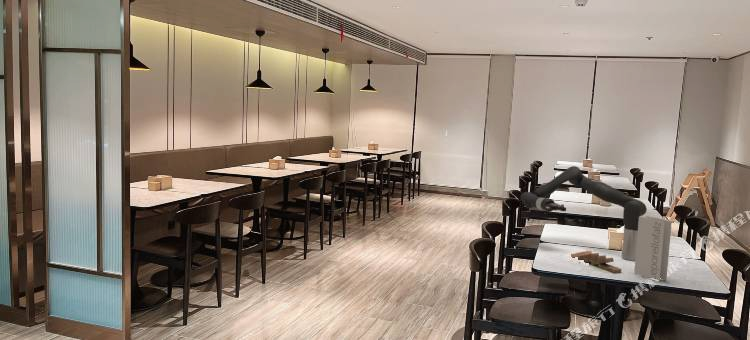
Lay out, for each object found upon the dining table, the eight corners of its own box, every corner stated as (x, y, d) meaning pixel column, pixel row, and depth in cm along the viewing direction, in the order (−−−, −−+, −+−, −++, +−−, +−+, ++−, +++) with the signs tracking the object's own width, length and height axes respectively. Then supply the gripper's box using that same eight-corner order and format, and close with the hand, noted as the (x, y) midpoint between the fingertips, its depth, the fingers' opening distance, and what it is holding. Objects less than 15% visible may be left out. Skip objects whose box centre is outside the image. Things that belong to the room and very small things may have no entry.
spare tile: (570, 254, 316) (584, 251, 306) (577, 253, 318) (591, 250, 308) (571, 258, 316) (584, 255, 306) (578, 257, 317) (592, 254, 308)
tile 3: (583, 259, 307) (598, 255, 297) (591, 258, 308) (605, 255, 299) (584, 262, 306) (599, 259, 296) (591, 262, 308) (606, 259, 298)
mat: (558, 255, 321) (558, 255, 321) (573, 254, 326) (573, 253, 325) (605, 273, 288) (605, 272, 288) (621, 271, 292) (622, 270, 292)
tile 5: (597, 263, 297) (614, 269, 287) (605, 263, 299) (621, 268, 289) (597, 267, 297) (613, 273, 287) (604, 266, 299) (621, 272, 289)
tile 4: (590, 261, 302) (605, 258, 292) (597, 260, 304) (612, 257, 294) (591, 265, 301) (606, 262, 292) (598, 264, 303) (613, 261, 293)
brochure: (634, 274, 289) (638, 216, 286) (641, 273, 291) (646, 215, 288) (659, 282, 276) (664, 221, 273) (666, 280, 279) (671, 221, 276)
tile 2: (577, 256, 311) (591, 253, 301) (584, 256, 313) (598, 252, 303) (578, 260, 311) (592, 257, 301) (585, 259, 313) (599, 256, 303)
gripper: (536, 198, 336) (556, 203, 320) (554, 197, 341) (574, 202, 325) (535, 211, 337) (555, 216, 321) (553, 210, 342) (573, 215, 326)
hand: (565, 209), depth 323 cm, fingers closed
